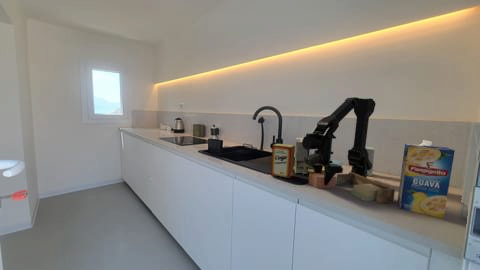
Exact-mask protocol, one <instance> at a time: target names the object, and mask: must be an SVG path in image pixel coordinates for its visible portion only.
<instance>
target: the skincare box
mask: <svg viewBox="0 0 480 270" xmlns="http://www.w3.org/2000/svg"><path fill="white" fill-rule="evenodd" d="M365 148H366V150H367V152H368V154H369V160H370V162H371V164H372V168H371V169H370V170H367V177H368V176H369V177H373V170H374V159H375V148H374V147H372V146H371V147H370V146H365Z"/></svg>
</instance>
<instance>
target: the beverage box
mask: <svg viewBox="0 0 480 270" xmlns="http://www.w3.org/2000/svg"><path fill="white" fill-rule="evenodd" d="M403 150H404V151H403V158H402V165H401V171H400V179H399V188H398V194H397V200H396V201H397V204H398V207H399V209H400V210H405V211H410V212H414V213H418V214H421V215H427V216H431V217H435V218H440V219H443V218H445V212H446V208H447V207H446V206H447V199H448V194H449V189H450V183H451V177H452V176H451V175H452V170H453V165H454V164H453V163H454V157H455V151H456V150H454V149H452V148H449V147H447V146H434V145H432V146H424V145H419V144H412V143H411V144H410V143H404V149H403Z"/></svg>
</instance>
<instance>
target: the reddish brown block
mask: <svg viewBox="0 0 480 270" xmlns="http://www.w3.org/2000/svg"><path fill="white" fill-rule="evenodd" d="M308 173H309V172H308ZM335 181H336V177H335V175H334V176H333V177H332V179H331V180H330V182H329V183H328V185H324V173H323V172H321V173H314V172H313V173H312V172H311V173H309V174H308V184H310V185H311V186H313V187H314V188H319V189H320V188H335V185H336V184H335Z"/></svg>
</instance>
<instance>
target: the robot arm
mask: <svg viewBox="0 0 480 270" xmlns="http://www.w3.org/2000/svg"><path fill="white" fill-rule="evenodd" d="M376 103H377V102H376V101H375V100H374V99H373V98H371V97H370V98H360V97H347V98H345V100H344V101H343V102H342V103H341V104H340V105H339V106H338V107H337V108H336V109H335V110H334V111H333V112H331V114H330V115H328V116H325V117H323V118H322V119H319V121H317V123H316V125H315V127H314V129H313V130H312V131H311V133H309V132H308V133H307V132H306V135H305V136H304V137H303V138H302V140H301V142H302V145H303V147H304V148H305V149H306V150H307V149H310V150H314V153H311V154H309V155H308V156H305V157H304V159H305V163H306V164H307V165H308V167H311V168H312V170H313V173H324V185H328V183H329V182H330V180H331V179H332V177H333V176H334V177H335V175H337V174H344V173H343V171H344V167H342V165H339V164H337V163H333V160H331V157H332V155H334V151H332V149H333V148H332V147H333V146H332V145H333V140H336V139H337V136H336V135H335V132H336V131H337V129H338V128H339V126H340V123H341V121H342V120H344V118H346V116H347V115H349V113H351V111H353V113H354V115H355V117H356V121H355V128H354V129H355V130H354V140H353V146H352V147H351V149H348V151H347V161H348V166H351V170H350V172H353V173H355V174H358V175H360V176H363V177H365V178H368V176H367V170H370V169H371V168H372V164H371V162H370V160H369V154H368V152H367V150H366V148H365V147H367V145H366V144H367V137H368V129H369V120H370V117H371V116H372V115H373V114H374V112H375V108H376ZM323 169H324V170H323Z"/></svg>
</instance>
